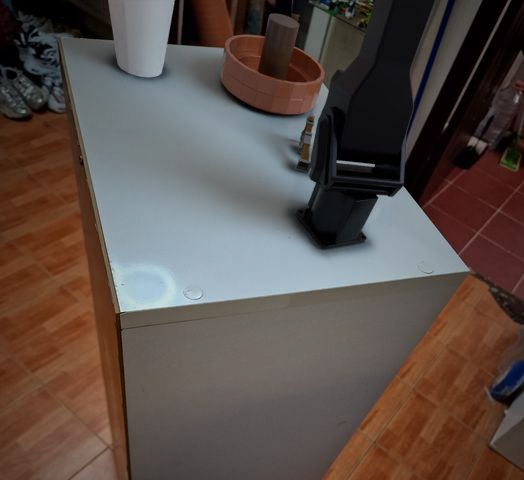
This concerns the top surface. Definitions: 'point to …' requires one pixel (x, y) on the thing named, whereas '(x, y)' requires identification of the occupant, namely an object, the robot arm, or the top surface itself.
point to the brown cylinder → (278, 46)
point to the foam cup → (141, 34)
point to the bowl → (270, 78)
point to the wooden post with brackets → (305, 144)
